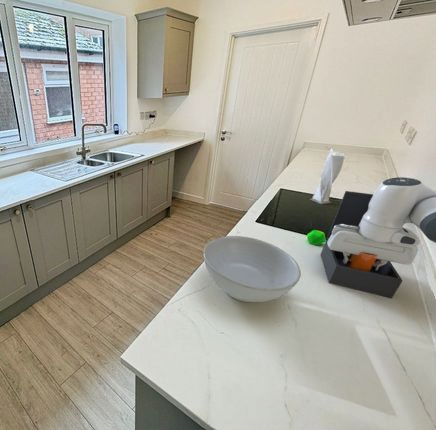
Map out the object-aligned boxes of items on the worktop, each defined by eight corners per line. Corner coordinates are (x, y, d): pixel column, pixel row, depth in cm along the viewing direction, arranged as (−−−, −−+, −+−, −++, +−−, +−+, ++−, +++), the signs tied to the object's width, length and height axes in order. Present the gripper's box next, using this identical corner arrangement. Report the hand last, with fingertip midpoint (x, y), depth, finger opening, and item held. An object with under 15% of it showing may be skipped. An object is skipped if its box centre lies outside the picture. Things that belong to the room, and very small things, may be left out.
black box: (390, 300, 80) (402, 280, 76) (327, 284, 86) (336, 266, 83) (372, 267, 94) (382, 249, 90) (319, 256, 100) (326, 239, 97)
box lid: (409, 199, 81) (407, 198, 82) (346, 191, 88) (345, 190, 89) (383, 248, 89) (382, 247, 90) (327, 238, 96) (326, 237, 97)
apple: (317, 231, 102) (326, 223, 107) (300, 235, 108) (309, 228, 112) (326, 247, 101) (335, 239, 106) (309, 250, 107) (318, 243, 111)
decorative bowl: (203, 257, 101) (207, 230, 96) (282, 272, 92) (292, 244, 87) (194, 306, 79) (199, 275, 74) (296, 333, 70) (311, 300, 65)
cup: (361, 274, 89) (375, 248, 84) (366, 285, 85) (381, 257, 80) (341, 270, 91) (353, 243, 86) (345, 280, 87) (358, 252, 82)
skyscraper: (307, 198, 147) (324, 148, 135) (318, 196, 149) (336, 147, 137) (321, 204, 140) (340, 152, 127) (332, 202, 142) (353, 151, 129)
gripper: (337, 227, 81) (322, 262, 88) (428, 242, 73) (404, 280, 79) (333, 218, 86) (319, 252, 93) (418, 232, 78) (396, 268, 84)
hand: (359, 266), depth 86 cm, fingers closed on cup, 5 cm apart
